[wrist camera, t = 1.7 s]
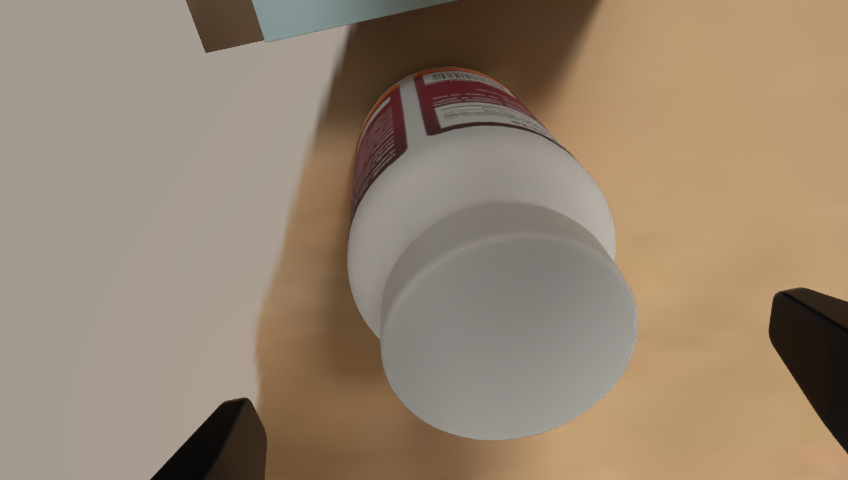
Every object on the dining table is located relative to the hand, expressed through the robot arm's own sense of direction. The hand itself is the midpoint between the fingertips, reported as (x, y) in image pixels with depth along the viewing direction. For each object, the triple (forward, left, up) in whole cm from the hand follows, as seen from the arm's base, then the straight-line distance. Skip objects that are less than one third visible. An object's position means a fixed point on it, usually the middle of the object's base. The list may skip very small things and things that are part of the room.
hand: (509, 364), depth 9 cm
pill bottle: (0, 0, -12) cm, 12 cm away
